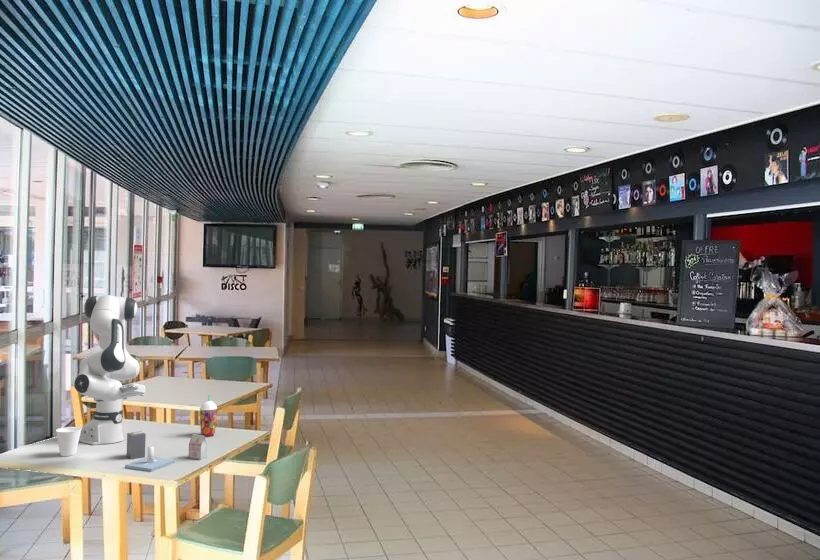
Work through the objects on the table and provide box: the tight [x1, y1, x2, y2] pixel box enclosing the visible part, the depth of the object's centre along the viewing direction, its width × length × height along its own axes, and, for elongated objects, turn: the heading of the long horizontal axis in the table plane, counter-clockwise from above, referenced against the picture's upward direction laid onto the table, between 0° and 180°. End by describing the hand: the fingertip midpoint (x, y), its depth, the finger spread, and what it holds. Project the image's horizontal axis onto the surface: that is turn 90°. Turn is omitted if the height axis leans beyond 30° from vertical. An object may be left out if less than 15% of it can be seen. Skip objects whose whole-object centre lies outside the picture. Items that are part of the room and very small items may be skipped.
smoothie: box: [199, 394, 218, 438], centre depth 314 cm, size 8×8×20 cm
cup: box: [55, 426, 82, 457], centre depth 274 cm, size 10×10×11 cm
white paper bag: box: [188, 433, 208, 461], centre depth 275 cm, size 4×7×10 cm, turn 66°
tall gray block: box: [126, 430, 147, 460], centre depth 274 cm, size 6×6×10 cm
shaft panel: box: [124, 446, 176, 473], centre depth 262 cm, size 13×14×8 cm
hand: (134, 395), depth 272 cm, fingers open, 8 cm apart
